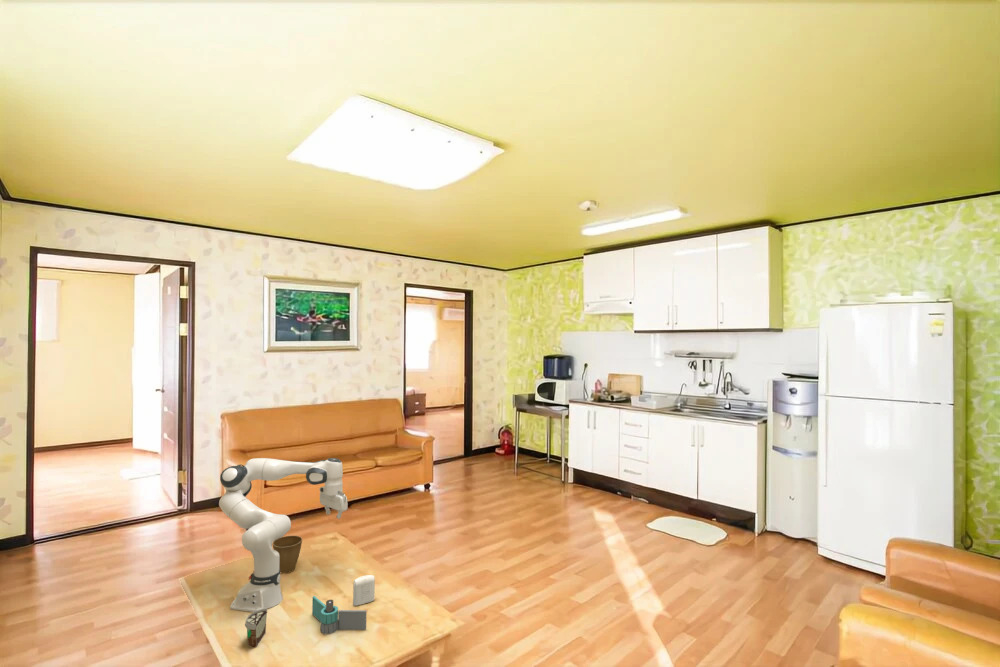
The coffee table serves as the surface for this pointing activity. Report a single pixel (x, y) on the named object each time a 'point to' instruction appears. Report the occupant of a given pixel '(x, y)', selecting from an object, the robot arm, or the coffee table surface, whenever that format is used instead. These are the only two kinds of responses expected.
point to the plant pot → (288, 552)
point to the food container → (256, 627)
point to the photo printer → (363, 590)
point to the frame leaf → (346, 621)
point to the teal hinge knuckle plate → (323, 612)
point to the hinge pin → (329, 606)
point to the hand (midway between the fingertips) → (333, 516)
